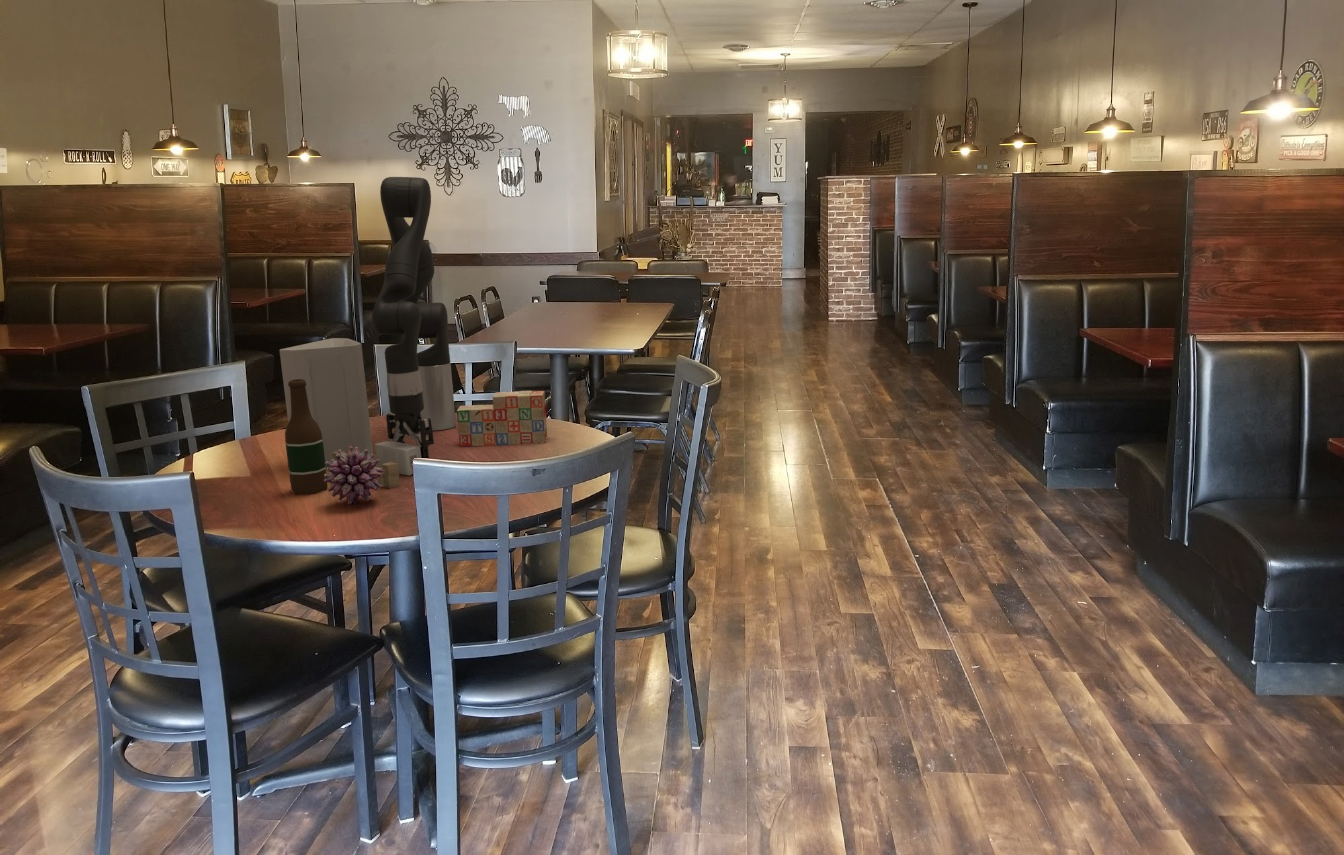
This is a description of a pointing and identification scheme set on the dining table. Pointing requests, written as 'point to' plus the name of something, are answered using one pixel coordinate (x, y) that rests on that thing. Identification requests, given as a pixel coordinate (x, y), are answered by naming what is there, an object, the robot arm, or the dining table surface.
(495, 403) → the stack of blocks
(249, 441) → the dining table surface
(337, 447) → the paper bag
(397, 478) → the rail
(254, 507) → the dining table surface
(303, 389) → the beer bottle
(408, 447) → the skincare box
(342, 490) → the flower
